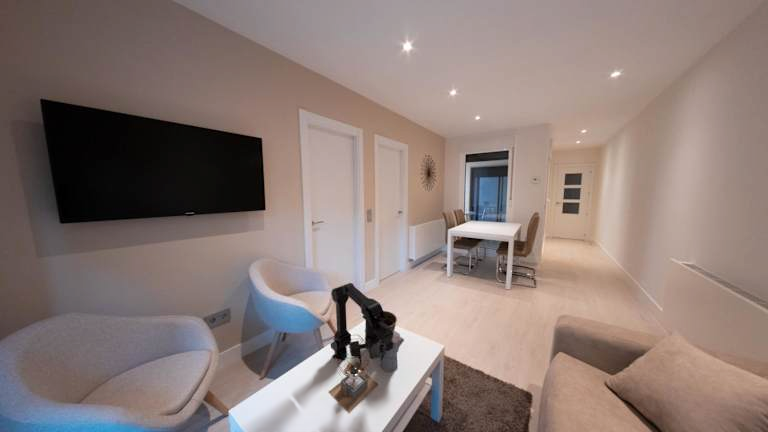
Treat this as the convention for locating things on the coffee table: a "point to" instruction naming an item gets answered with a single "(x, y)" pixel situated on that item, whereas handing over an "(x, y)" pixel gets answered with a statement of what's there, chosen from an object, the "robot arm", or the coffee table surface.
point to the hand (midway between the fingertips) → (371, 362)
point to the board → (346, 400)
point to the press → (356, 392)
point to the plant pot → (389, 320)
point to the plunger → (354, 378)
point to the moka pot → (392, 355)
